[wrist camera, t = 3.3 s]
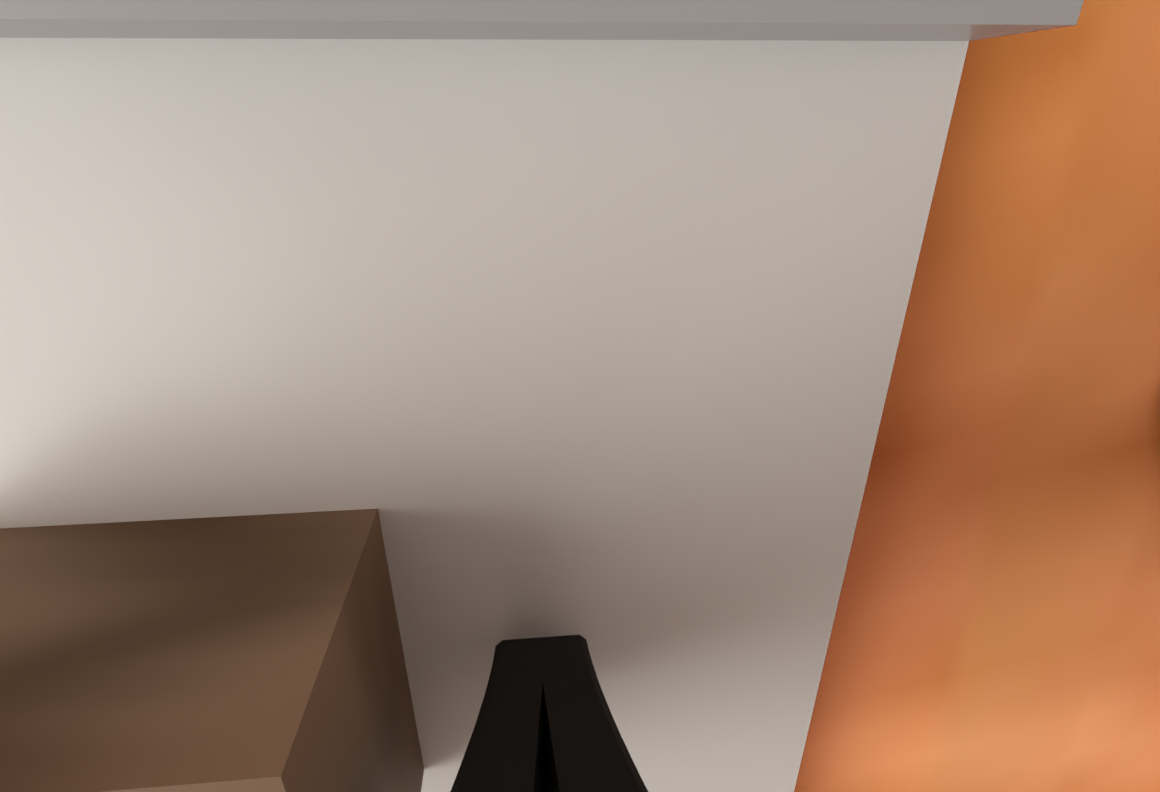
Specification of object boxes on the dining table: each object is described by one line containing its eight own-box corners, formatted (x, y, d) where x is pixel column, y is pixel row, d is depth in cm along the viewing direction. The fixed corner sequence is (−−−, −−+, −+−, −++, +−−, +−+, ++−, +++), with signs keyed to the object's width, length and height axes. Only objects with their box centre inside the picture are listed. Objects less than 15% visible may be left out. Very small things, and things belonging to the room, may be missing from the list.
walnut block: (377, 508, 9) (280, 777, 5) (424, 769, 12) (379, 1069, 8) (-59, 531, 9) (-484, 840, 5) (90, 797, 11) (-118, 1128, 8)
